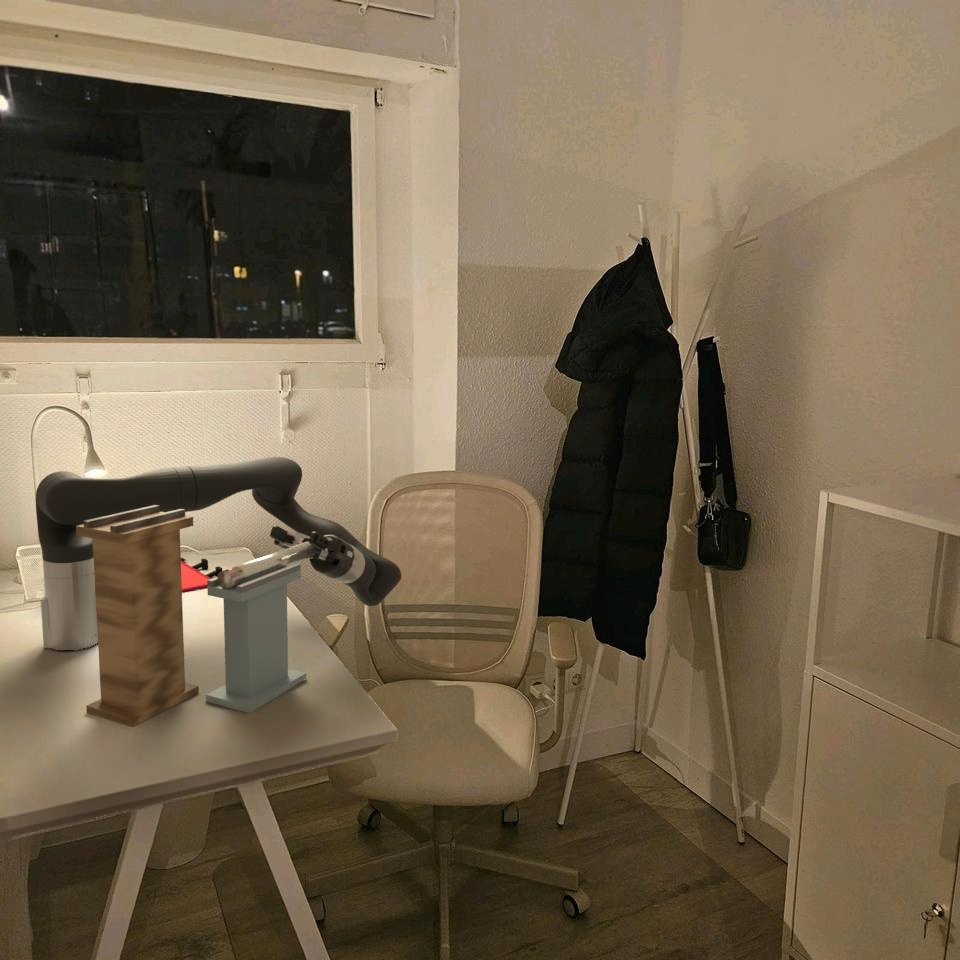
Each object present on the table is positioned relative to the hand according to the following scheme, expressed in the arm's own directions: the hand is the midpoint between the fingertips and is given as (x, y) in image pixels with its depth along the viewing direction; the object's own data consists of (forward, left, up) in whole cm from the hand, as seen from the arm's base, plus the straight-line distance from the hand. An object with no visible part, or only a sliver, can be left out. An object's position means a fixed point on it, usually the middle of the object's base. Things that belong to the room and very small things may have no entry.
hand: (292, 533), depth 146 cm
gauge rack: (-5, -9, -25) cm, 27 cm away
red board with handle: (-36, +60, -26) cm, 75 cm away
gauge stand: (-22, -13, -25) cm, 36 cm away
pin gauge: (-3, -5, -5) cm, 8 cm away
